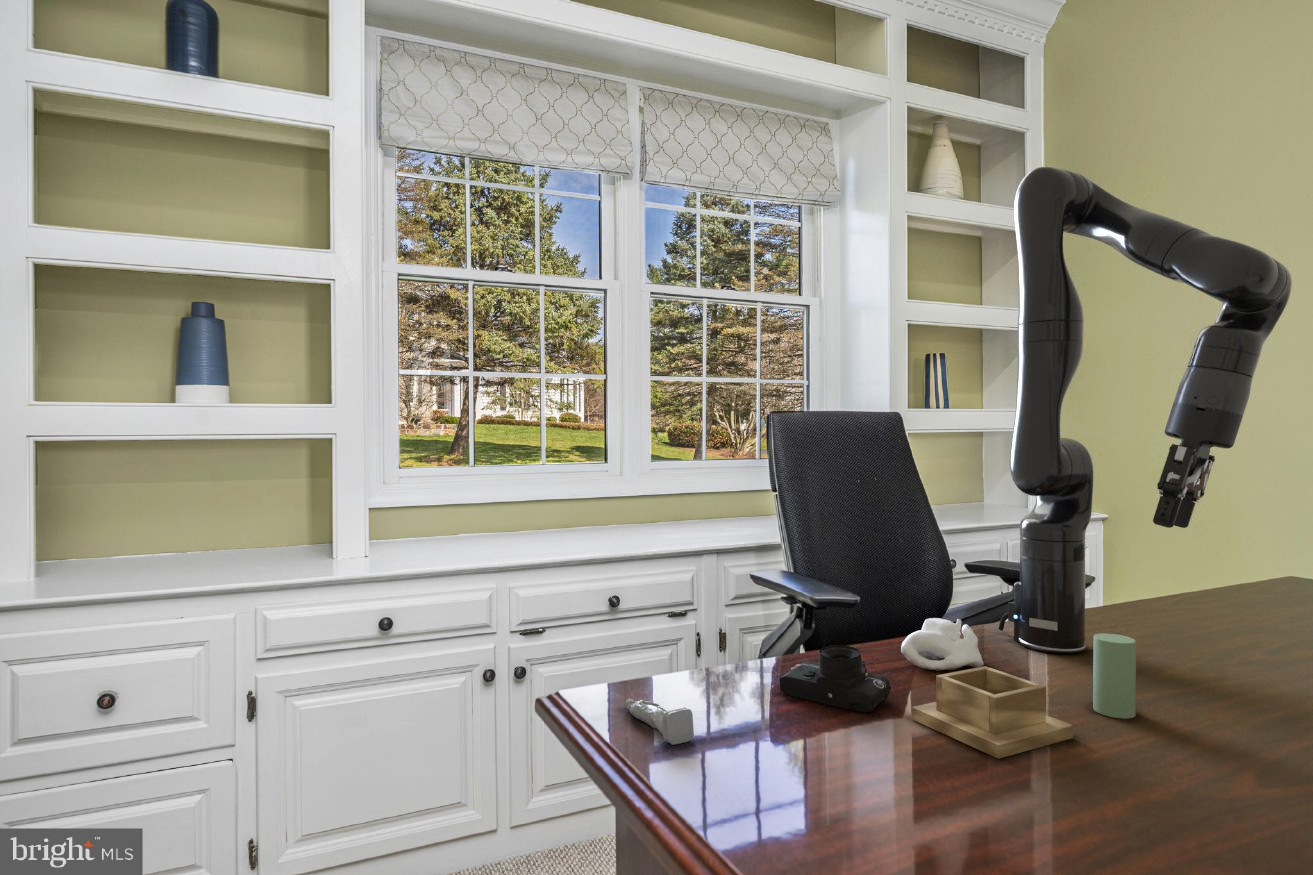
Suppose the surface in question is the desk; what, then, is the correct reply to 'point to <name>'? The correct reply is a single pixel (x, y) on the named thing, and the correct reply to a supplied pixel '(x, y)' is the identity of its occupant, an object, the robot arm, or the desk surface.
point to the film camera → (837, 680)
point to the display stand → (992, 712)
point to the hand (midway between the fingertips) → (1169, 526)
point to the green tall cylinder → (1114, 675)
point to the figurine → (664, 720)
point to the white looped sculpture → (942, 646)
